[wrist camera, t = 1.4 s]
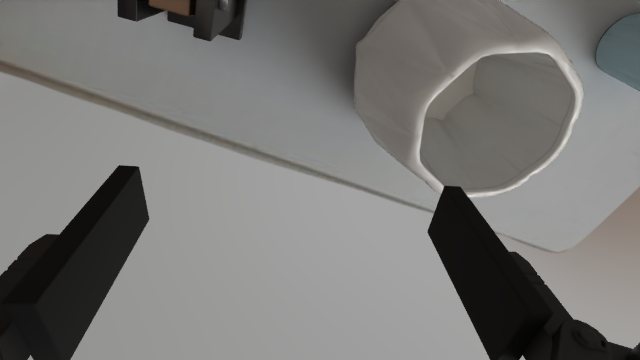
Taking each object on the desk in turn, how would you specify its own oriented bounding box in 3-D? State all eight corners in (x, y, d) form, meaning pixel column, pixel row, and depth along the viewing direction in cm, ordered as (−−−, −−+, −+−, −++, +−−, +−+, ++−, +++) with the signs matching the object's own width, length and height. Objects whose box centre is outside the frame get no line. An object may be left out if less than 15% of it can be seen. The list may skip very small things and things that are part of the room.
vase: (314, 70, 33) (328, 140, 20) (433, -61, 27) (553, -81, 15) (406, 156, 38) (462, 253, 26) (518, 60, 33) (657, 121, 20)
